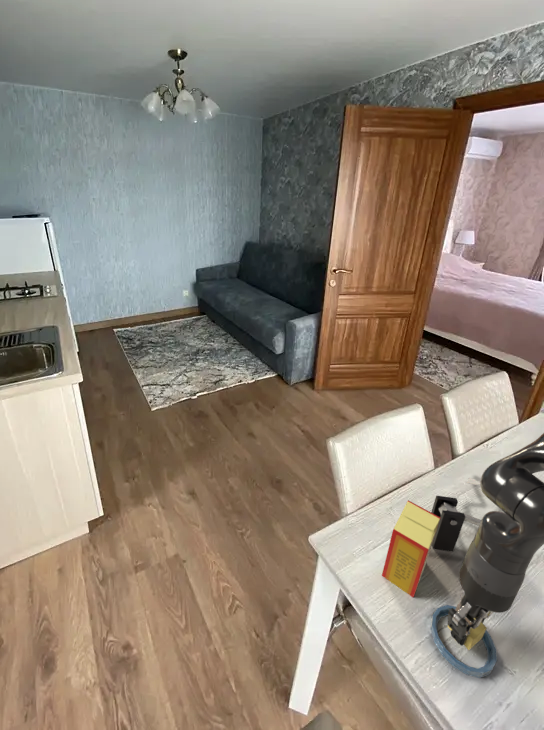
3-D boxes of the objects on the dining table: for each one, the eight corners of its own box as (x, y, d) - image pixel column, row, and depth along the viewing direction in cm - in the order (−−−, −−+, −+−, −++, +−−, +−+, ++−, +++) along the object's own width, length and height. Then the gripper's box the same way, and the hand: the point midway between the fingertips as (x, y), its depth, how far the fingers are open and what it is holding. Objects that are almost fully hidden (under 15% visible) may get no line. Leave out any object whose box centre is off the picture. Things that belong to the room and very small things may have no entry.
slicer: (453, 532, 86) (466, 494, 81) (467, 564, 79) (482, 525, 74) (411, 525, 88) (421, 488, 83) (420, 556, 80) (432, 517, 75)
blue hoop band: (476, 619, 69) (480, 610, 68) (503, 687, 59) (508, 678, 58) (422, 609, 70) (425, 600, 69) (440, 674, 61) (443, 665, 60)
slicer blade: (489, 522, 81) (495, 515, 80) (501, 544, 76) (508, 537, 75) (435, 502, 82) (441, 495, 81) (444, 523, 77) (450, 516, 76)
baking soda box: (412, 601, 72) (428, 549, 66) (380, 579, 76) (393, 528, 69) (425, 566, 78) (441, 516, 72) (395, 548, 82) (408, 498, 76)
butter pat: (460, 615, 66) (464, 605, 65) (482, 638, 62) (486, 627, 61) (447, 626, 64) (451, 616, 63) (468, 650, 61) (473, 640, 60)
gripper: (490, 617, 51) (461, 679, 57) (540, 571, 57) (508, 632, 63) (442, 570, 57) (421, 631, 63) (492, 533, 63) (467, 593, 69)
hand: (465, 631), depth 63 cm, fingers closed on butter pat, 4 cm apart
